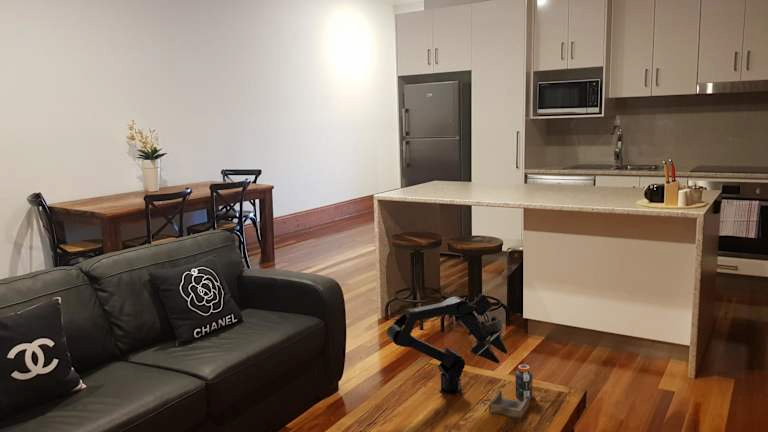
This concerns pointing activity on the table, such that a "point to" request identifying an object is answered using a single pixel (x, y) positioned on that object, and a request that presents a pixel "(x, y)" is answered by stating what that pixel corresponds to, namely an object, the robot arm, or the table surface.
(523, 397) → the pill bottle
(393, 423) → the table surface
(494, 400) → the box
